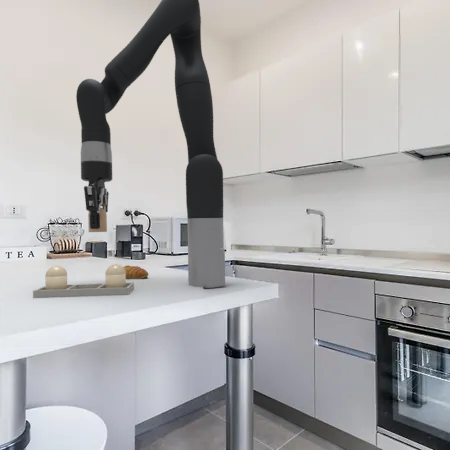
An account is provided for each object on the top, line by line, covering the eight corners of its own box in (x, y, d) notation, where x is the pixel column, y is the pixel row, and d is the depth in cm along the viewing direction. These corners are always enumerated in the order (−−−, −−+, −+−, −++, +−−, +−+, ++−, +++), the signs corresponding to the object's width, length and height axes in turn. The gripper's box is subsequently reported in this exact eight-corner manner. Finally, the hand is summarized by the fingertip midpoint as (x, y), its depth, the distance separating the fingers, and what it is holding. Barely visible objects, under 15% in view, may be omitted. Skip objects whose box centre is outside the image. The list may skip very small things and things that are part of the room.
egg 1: (70, 292, 80) (69, 264, 80) (63, 295, 75) (62, 266, 76) (50, 292, 79) (50, 264, 79) (42, 296, 75) (41, 267, 75)
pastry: (154, 278, 105) (153, 265, 105) (136, 281, 100) (136, 268, 100) (133, 276, 110) (133, 264, 110) (116, 279, 105) (115, 266, 105)
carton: (134, 291, 82) (134, 282, 82) (128, 296, 75) (128, 287, 75) (47, 293, 81) (46, 285, 81) (33, 300, 74) (33, 290, 74)
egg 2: (108, 231, 90) (108, 207, 90) (104, 231, 86) (104, 206, 86) (91, 231, 90) (90, 207, 90) (86, 232, 86) (85, 206, 86)
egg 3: (127, 290, 81) (127, 262, 81) (123, 293, 77) (123, 264, 77) (108, 290, 81) (107, 263, 81) (103, 294, 76) (103, 265, 76)
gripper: (104, 156, 81) (105, 228, 81) (117, 166, 96) (118, 228, 95) (71, 156, 81) (72, 229, 81) (89, 167, 95) (91, 229, 95)
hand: (97, 228), depth 88 cm, fingers closed on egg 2, 4 cm apart
